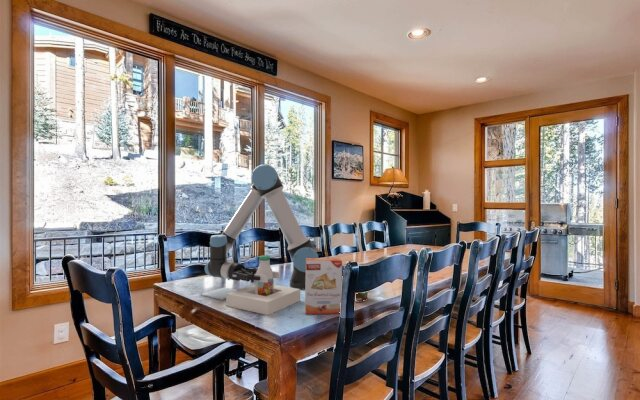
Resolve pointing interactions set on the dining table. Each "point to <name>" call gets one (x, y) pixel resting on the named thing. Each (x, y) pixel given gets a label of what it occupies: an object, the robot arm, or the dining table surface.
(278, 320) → the dining table surface
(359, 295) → the food container
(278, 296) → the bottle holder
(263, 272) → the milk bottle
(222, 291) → the mat
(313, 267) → the cracker box
